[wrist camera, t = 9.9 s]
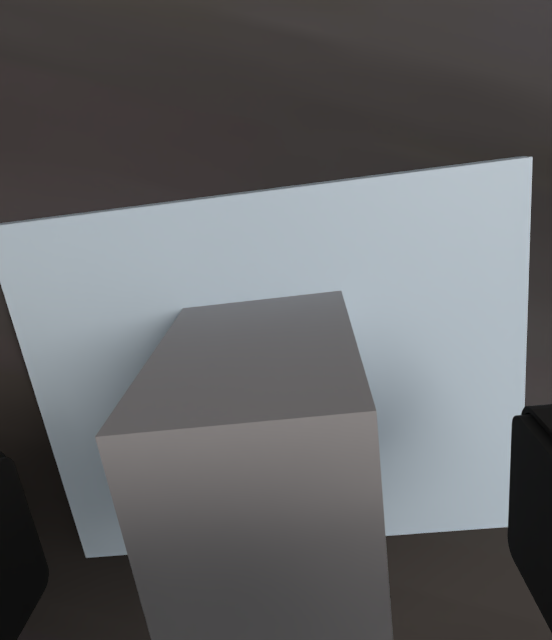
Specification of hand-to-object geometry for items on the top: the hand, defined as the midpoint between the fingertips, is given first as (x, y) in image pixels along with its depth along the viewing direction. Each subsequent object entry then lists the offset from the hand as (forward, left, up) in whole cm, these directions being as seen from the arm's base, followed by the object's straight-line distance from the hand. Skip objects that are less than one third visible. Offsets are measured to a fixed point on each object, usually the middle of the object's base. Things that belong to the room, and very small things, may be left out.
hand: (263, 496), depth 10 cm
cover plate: (0, 0, -5) cm, 5 cm away
